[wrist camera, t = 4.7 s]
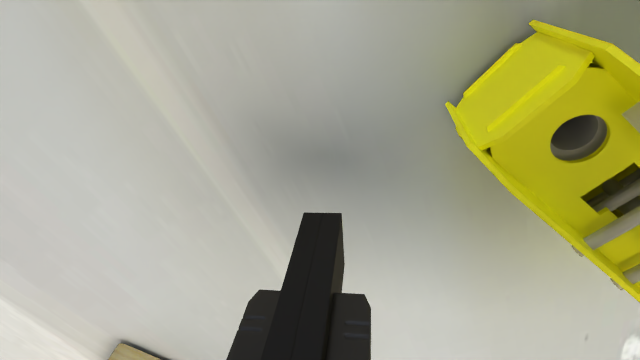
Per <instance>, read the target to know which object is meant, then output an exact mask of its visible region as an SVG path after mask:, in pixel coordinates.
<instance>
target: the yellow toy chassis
mask: <svg viewBox="0 0 640 360" xmlns="http://www.w3.org/2000/svg"><path fill="white" fill-rule="evenodd" d="M529 25H530V26H531V27H532V28H533V29H534V30H535V31H536V33H535V34H533V35H532V36H530V37H529V38H527V39H526V40H524V41H523V42H521V43H515V44H514V45H513V46H512V47H511V48H510V49H509V50H508V51H507V52H506V53H505V54H504V55H503V56H501V57H500V58H499V59H498V60H497V61H496V62H495V63H494V64H493V65H492V66H491V67H490V68H489V69H488V70H487V71H486V72H485V73H484V74H483V75H482V76H481V77H479V78H478V79H477V80H476V81H475V82H474V83H473V84H472V85H471V86H470V87H469V88H468V89H467V90H466V91H465V92H464V93H463V96H464V97H463V98H462V100H461V101H460V103H459V104H458V105H457V107H454V106H453V105H452V104H451V103H450V102H449V101H448V102H447V103H446V104H445V105H446V107H447V109H448V111H449V113H450V115H451V117H452V119H453V121H454V123H455V125H456V128H455V129H456V131H457V133H458V135H459V137H461V138H462V139H463V140H464V142H465V144H466V146H467V147H468V148H469V149H470V150H471V151H472V152H473V153H474V154H475V156H476V157H477V158H478V159H479V160H480V161H481V162H482V163H483V164H484V165H485V166H486V167H487V168H488V169H489V170H490V171H491V172H492V173H493V175H494V176H495V177H496V178H497V179H498V180H499V181H500V182H501V183H502V184H503V185H504V186H505V187H506V188H507V189H508V190H509V191H510V192H511V193H512V194H513V195H514V196H515V197H516V198H518V199H519V200H520V201H521V202H522V203H523V204H525V205H526V206H527V207H528V208H529V209H531V210H532V211H533V212H534V213H535V214H536V215H538V216H539V217H540V218H541V219H542V220H543V221H545V222H546V223H547V224H548V225H549V226H550V227H552V228H553V229H554V230H555V231H556V232H558V233H559V234H560V235H561V236H562V237H563V238H565V239H566V240H567V241H568V242H569V243H570V244H572V248H573V249H574V250H575V251H576V252H577V253H578V254H579V255H580V256H581V257H582V256H584V255H585V256H586V257H587V258H588V259H589V260H590V261H592V262H593V263H594V264H595V265H596V266H597V267H599V268H600V269H601V270H602V271H603V272H604V273H606V274H607V275H608V276H609V277H610V279H611V280H612V282H613V283H614V284H615V285H616V286H617V287H618V288H619V289H620V290H622V289H624V290H626V291H627V292H628V293H629V294H630V295H631V296H633V297H634V298H635V299H636V300H637V301H639V302H640V64H639V63H638V62H636V61H635V60H634V59H632V58H631V57H630V56H628V55H627V54H626V53H624V52H623V51H622V50H620V49H619V48H618V47H616V46H615V45H614V44H612V43H608V42H605V41H602V40H599V39H595V38H592V37H589V36H585V35H582V34H579V33H575V32H572V31H569V30H566V29H562V28H559V27H556V26H552V25H549V24H546V23H543V22H539V21H536V20H532V21H531V22H530V23H529Z"/></svg>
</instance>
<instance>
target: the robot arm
mask: <svg viewBox="0 0 640 360" xmlns="http://www.w3.org/2000/svg"><path fill="white" fill-rule="evenodd" d="M343 274H344V249H343V231H342V213H304V214H303V218H302V221H301V224H300V228H299V231H298V235H297V238H296V241H295V245H294V248H293V252H292V255H291V258H290V262H289V265H288V269H287V272H286V275H285V279H284V282H283V286H282V289H281V291H274V290H259V291H258V292H257V293H256V294H255V295H254V296H253V297H252V299H251V300H250V301H249V302H248V305H247V307H246V310H245V313H244V315H243V319H242V320H241V323H240V326H239V330H238V331H237V333H236V336H235V339H234V341H233V344H232V347H231V349H230V352H229V354H228V357H227V360H371V307H370V305H369V303H368V301H367V299H366V297H365V295H364V294H348V293H342V283H343Z"/></svg>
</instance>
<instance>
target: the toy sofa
mask: <svg viewBox="0 0 640 360" xmlns="http://www.w3.org/2000/svg"><path fill="white" fill-rule="evenodd" d="M108 360H161V359H159V358H156V357H154V356H152V355H149V354H147V353H144V352H142V351H140V350H137V349H135V348H133V347H130V346H128V345H125V344H122V343H121V344H118V346H117V347H116V349H115V350H114V351H113V353H112V354H111V356H110V357H109V359H108Z"/></svg>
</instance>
